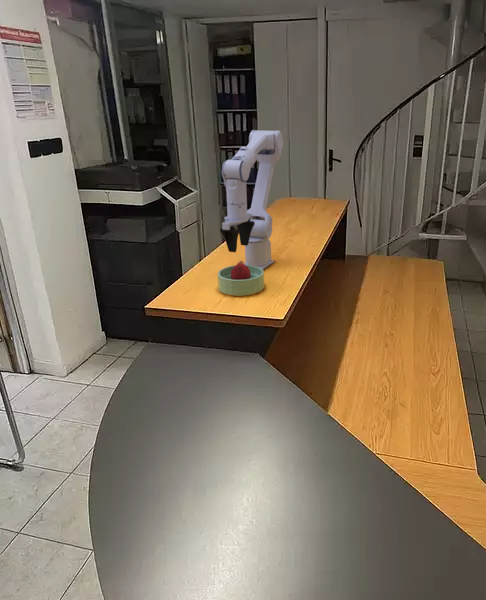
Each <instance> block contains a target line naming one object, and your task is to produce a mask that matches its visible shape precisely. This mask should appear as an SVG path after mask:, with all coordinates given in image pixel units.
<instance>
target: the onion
mask: <svg viewBox="0 0 486 600" xmlns="http://www.w3.org/2000/svg"><path fill="white" fill-rule="evenodd" d="M233 266H234V267H233V269H232V270H231V279H232V280H246V279H250V278H251V273H250V270H249V268H248V267H247V266H246V265H244V261H242V260H239V261H238V262H237V264H235V265H233Z"/></svg>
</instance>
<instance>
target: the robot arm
mask: <svg viewBox="0 0 486 600" xmlns="http://www.w3.org/2000/svg"><path fill="white" fill-rule="evenodd" d="M283 147H284V137H283V133H282V132H281V130H279V129H278V130H277V129H276V130H257V129H252V130H251V131H250V133H249V136H248V144H247V145H246V146H241V147H240V148H239V150H238V151H237V152H236V153H235V154H234V156H233V157H232V158H231V159H227V160H225V161H224V162H223V163H222V165H221V166H222V167H221V176H222V179H223V185H224V187H225V189H226V190H225V191H226V211H227V213H226V214H227V216H224V217H223V219H224V221H223V222H222V223H221V227H220V228H219V232H220V233H221V235H222V237H223V238H224V241H225V243H226V246H227V249H228V252H229V253H236V252H237V248H238V239H239V242H240V246H244V258H245V261H244V262H243V264H244V265H251V266H256V267H259V268H261V269H263V270H264V269H266V268H268V267H269V266H271V264H273V263H274V262H275V261H274V260H273V259H272V242H271V240H270V238H271V237H272V234H273V217H272V216H271V215H270V214H269V212H267V206H268V202H269V196H270V191H271V187H272V180H273V177H274V171H275V165H276V163H277V162H278V161H280V160H281V156H282V152H283ZM256 162H258V163H259V164H258V170H257V175H256V180H255V185H254V190H253V195H252V201H251V205H250V208H249V209H248V197H247V195H248V194H247V181H248V180H249V178H250V173H251V170H252V167H253V166H254V164H255V163H256ZM235 227H237V229H236V228H235Z"/></svg>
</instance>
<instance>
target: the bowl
mask: <svg viewBox="0 0 486 600" xmlns="http://www.w3.org/2000/svg"><path fill="white" fill-rule="evenodd" d="M234 266H235V265H230V266H225V267H223V268H221V269H219V271H217V283H218V290H219V291H220V292H221V293H223V294H225V295H228V296H229V295H230V296H233V297H234V296H235V297H244V296H252V295H254V294H258V293H260V292H261V291H263V290H264V288H265V270H264V269H261V268H259V267H256V266H251V265H246V266H247V267H248V268H249V270H250V273H251V278H250V279H246V280H232V279H231V270H232V269H233V267H234Z"/></svg>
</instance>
